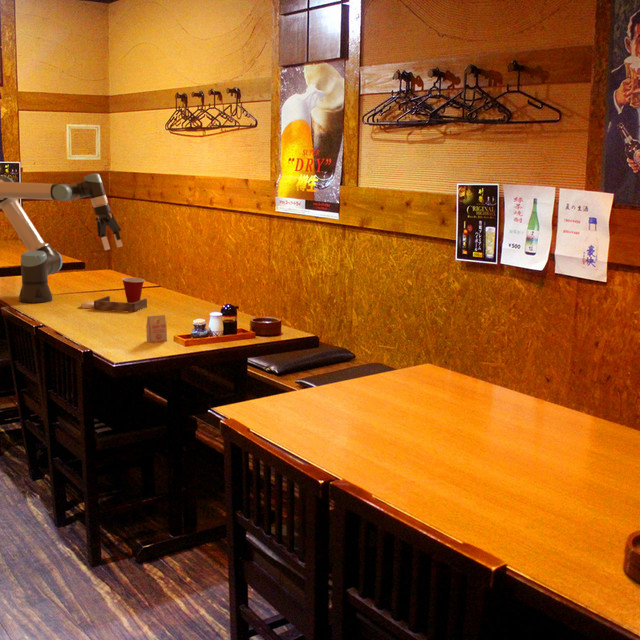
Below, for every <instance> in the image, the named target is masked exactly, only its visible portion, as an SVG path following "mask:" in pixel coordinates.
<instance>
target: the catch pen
mask: <svg viewBox="0 0 640 640" xmlns="http://www.w3.org/2000/svg"><path fill="white" fill-rule="evenodd" d="M93 302H94V308H93V309H99V310H98V311H109V310H115V311H114V312H123V311H128V312H127V313H135V312H138V310H139V311H141V310H144V309H146V308H148V299H147V298H142V299H140V301H137V302H135V303H128V302H124V301H123V302H120V301H111V296H110V295H108V296H105V297H102V298H98V299H95V300H93ZM145 307H146V308H145ZM143 308H144V309H143ZM140 309H141V310H140Z"/></svg>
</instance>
